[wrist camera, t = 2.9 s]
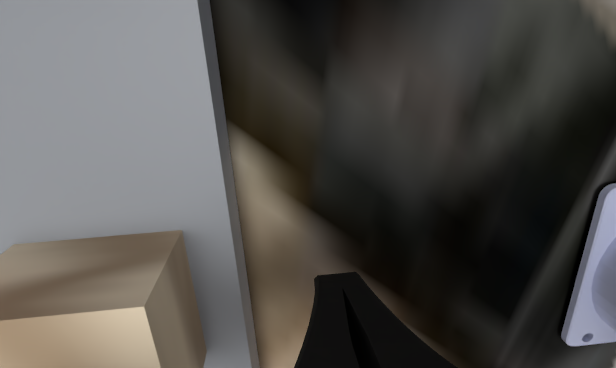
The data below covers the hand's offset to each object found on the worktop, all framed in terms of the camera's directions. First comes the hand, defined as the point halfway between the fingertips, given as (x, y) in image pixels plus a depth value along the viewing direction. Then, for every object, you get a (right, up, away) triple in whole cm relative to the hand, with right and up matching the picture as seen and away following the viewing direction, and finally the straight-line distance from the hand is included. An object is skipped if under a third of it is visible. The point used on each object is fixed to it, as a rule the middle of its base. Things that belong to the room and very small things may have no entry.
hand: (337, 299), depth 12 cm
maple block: (-7, 0, 0) cm, 7 cm away
